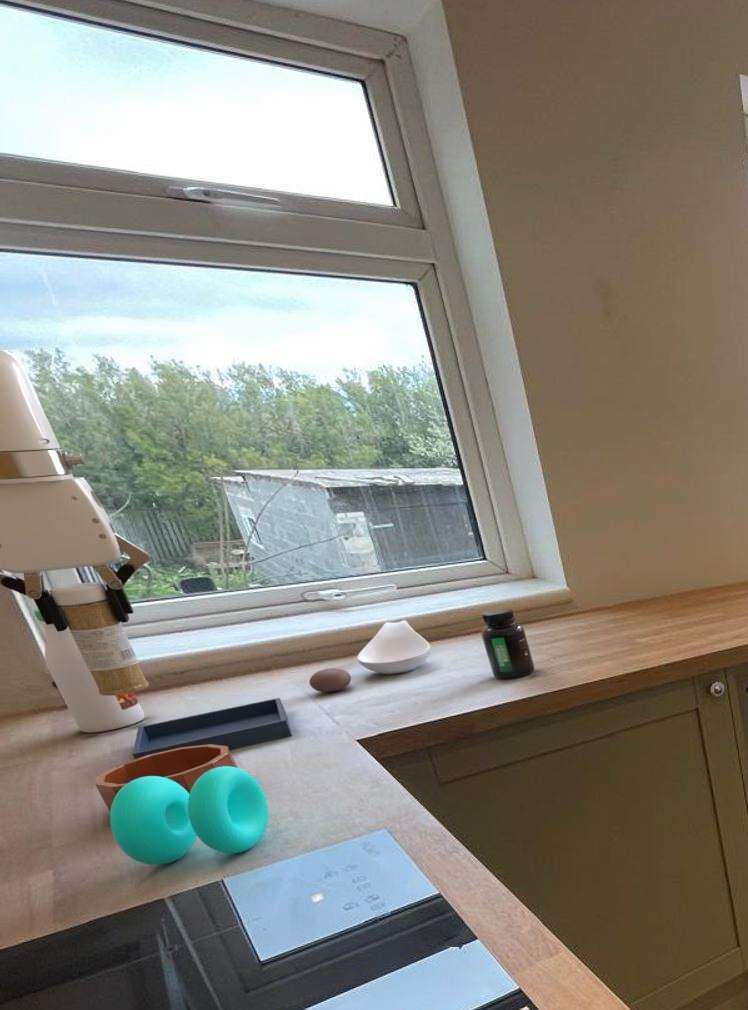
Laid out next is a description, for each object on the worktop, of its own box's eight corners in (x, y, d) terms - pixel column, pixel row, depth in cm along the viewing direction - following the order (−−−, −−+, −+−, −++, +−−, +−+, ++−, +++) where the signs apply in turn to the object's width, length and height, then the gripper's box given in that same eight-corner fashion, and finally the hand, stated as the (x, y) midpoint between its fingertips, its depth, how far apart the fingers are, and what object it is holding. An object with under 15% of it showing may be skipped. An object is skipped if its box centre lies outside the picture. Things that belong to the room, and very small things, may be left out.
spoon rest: (434, 672, 155) (422, 635, 153) (359, 684, 150) (346, 647, 147) (439, 643, 174) (428, 611, 171) (373, 653, 169) (361, 620, 166)
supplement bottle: (513, 681, 148) (494, 617, 143) (485, 678, 150) (466, 615, 145) (543, 669, 154) (526, 607, 149) (516, 667, 156) (498, 606, 151)
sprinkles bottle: (126, 685, 104) (77, 581, 99) (160, 684, 104) (113, 580, 99) (89, 697, 100) (35, 590, 95) (125, 697, 100) (74, 589, 95)
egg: (306, 694, 146) (297, 673, 144) (341, 683, 151) (333, 663, 149) (327, 697, 144) (319, 676, 142) (362, 686, 149) (354, 665, 147)
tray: (140, 770, 117) (132, 754, 116) (145, 742, 127) (138, 726, 126) (292, 735, 127) (285, 720, 126) (285, 711, 138) (279, 697, 137)
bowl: (110, 832, 99) (91, 795, 97) (118, 799, 108) (100, 765, 106) (244, 797, 107) (229, 763, 105) (241, 769, 116) (227, 737, 114)
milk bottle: (113, 733, 131) (51, 612, 123) (67, 734, 132) (2, 614, 124) (159, 715, 138) (103, 600, 131) (115, 716, 139) (57, 602, 131)
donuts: (240, 866, 90) (201, 787, 86) (130, 884, 88) (86, 802, 84) (284, 825, 99) (251, 751, 95) (186, 839, 97) (148, 764, 93)
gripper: (127, 461, 99) (189, 607, 106) (-89, 472, 89) (-4, 633, 96) (123, 464, 94) (187, 617, 101) (-107, 476, 84) (-17, 645, 91)
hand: (93, 623), depth 99 cm, fingers closed on sprinkles bottle, 4 cm apart
